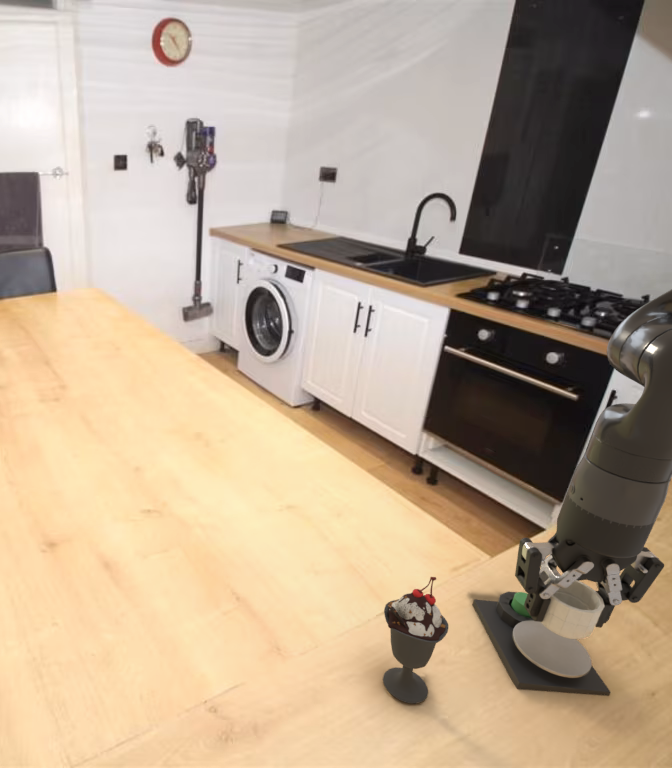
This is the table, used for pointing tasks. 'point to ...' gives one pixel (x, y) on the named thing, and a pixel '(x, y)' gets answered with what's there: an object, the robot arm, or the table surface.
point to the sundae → (412, 642)
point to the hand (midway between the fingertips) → (563, 618)
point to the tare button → (520, 604)
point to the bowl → (574, 611)
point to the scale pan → (551, 650)
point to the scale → (520, 669)
